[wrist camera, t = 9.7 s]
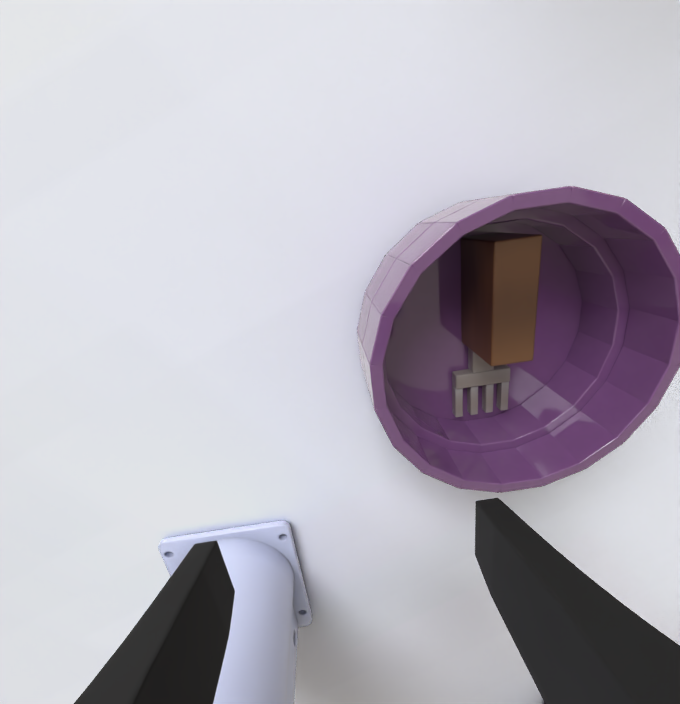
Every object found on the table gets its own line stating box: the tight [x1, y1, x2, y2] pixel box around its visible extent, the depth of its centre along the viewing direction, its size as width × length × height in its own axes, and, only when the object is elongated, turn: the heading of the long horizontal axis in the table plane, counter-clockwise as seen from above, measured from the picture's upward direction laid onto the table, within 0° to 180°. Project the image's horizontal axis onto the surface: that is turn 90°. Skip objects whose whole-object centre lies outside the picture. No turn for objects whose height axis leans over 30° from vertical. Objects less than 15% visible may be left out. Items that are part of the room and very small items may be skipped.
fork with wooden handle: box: [452, 232, 542, 417], centre depth 15 cm, size 9×3×3 cm, turn 8°
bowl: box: [357, 186, 680, 493], centre depth 15 cm, size 12×12×5 cm
